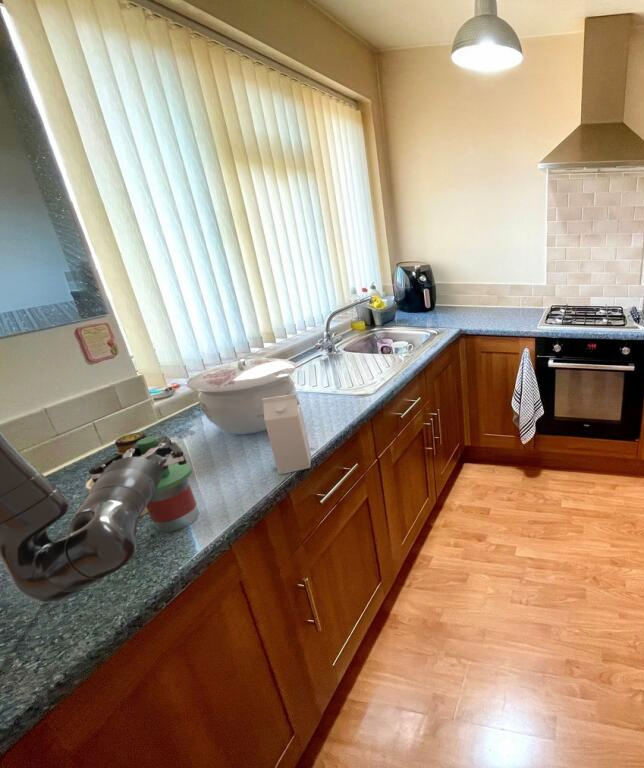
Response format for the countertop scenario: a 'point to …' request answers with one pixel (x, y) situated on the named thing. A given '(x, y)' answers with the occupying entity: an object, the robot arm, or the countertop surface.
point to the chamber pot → (242, 392)
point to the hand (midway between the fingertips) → (154, 442)
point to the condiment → (128, 441)
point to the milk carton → (287, 433)
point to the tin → (173, 508)
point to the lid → (172, 473)
